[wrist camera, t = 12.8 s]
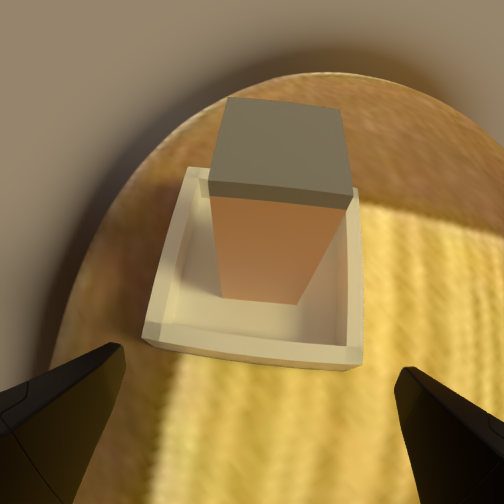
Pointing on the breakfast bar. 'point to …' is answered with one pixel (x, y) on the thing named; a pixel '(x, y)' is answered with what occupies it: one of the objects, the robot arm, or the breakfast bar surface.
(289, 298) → the grey-topped orange box
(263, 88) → the breakfast bar surface
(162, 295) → the tray
